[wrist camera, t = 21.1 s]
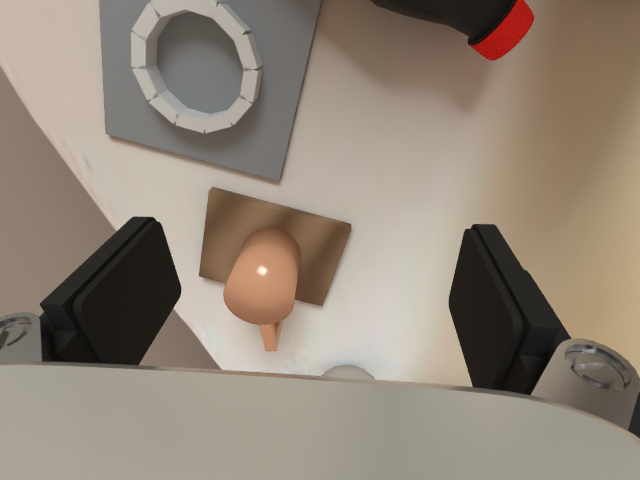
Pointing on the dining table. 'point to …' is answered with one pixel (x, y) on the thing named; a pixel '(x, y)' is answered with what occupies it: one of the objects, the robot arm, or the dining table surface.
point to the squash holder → (207, 76)
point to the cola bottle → (473, 20)
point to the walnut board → (253, 214)
